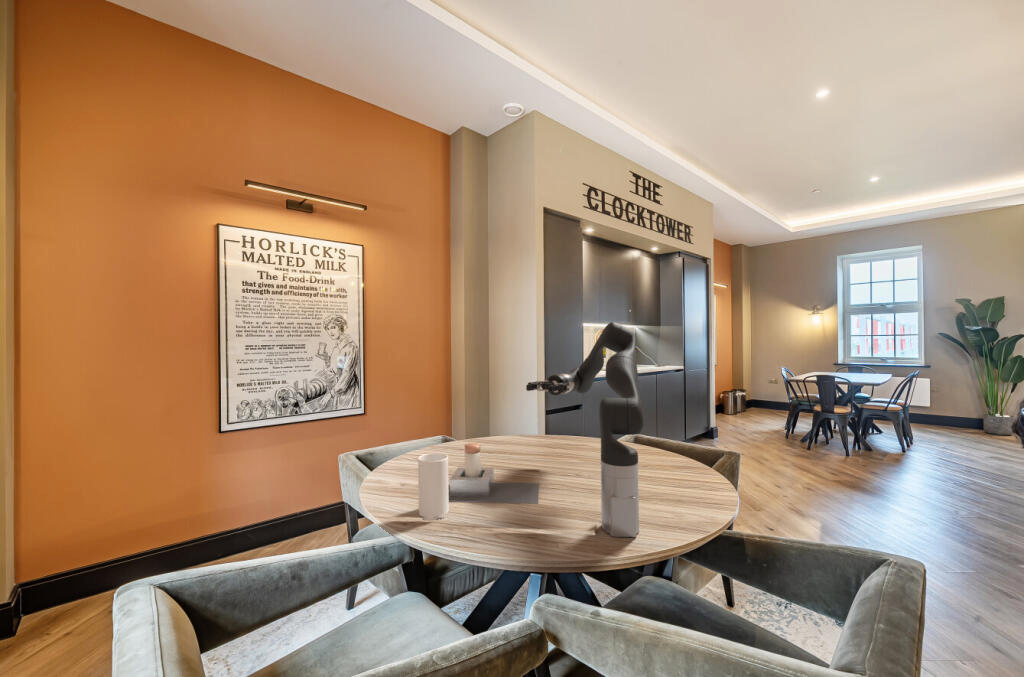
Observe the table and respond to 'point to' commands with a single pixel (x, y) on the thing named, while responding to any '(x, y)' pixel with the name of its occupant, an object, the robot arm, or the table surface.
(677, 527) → the table surface
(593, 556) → the table surface
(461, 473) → the socket
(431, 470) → the cup
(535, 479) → the table surface
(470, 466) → the peg
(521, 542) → the table surface
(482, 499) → the mat
